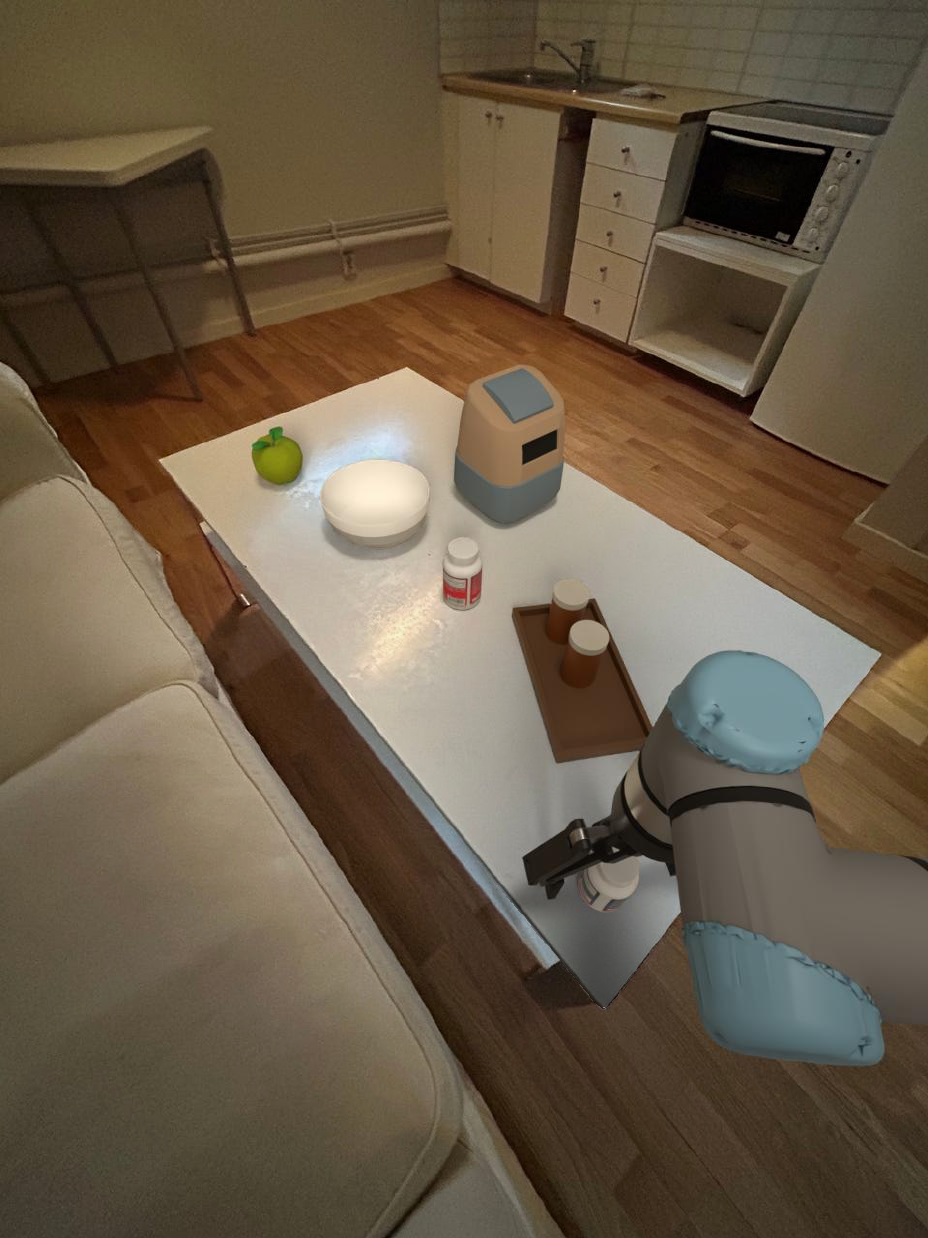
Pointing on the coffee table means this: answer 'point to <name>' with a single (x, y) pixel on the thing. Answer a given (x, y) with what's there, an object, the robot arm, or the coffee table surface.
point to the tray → (581, 693)
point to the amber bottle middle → (583, 653)
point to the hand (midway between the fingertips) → (608, 874)
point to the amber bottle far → (566, 608)
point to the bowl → (376, 502)
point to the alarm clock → (510, 443)
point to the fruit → (277, 457)
